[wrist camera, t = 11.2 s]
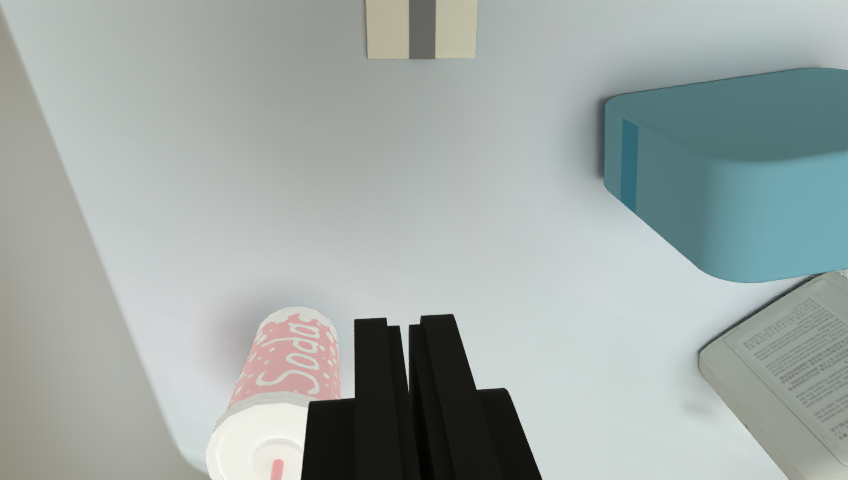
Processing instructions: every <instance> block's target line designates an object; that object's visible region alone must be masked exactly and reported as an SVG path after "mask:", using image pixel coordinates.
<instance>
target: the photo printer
mask: <svg viewBox="0 0 848 480" xmlns="http://www.w3.org/2000/svg"><path fill="white" fill-rule="evenodd" d="M699 369H700V372H701V374H702V375H703V377H704V378H705V379H706V380H707V382H708V383H709V384H710V385H711V386H712V388H713V389H714V390H715V391H716V392H717V394H718V395H719V396H720V397H721V399H722V400H723V401H724V402H725V403H726V405H727V406H728V407H729V408H730V409H731V411H732V412H733V413H734V414H735V415H736V417H737V418H738V419H739V420H740V421H741V423H742V424H743V425H744V426H745V427H746V429H747V430H748V431H749V432H750V433H751V435H752V436H753V437H754V438H755V439H756V441H757V442H758V443H759V444H760V445H761V447H762V448H763V449H764V450H765V451H766V453H767V454H768V455H769V456H770V457H771V459H772V460H773V461H774V462H775V463H776V465H777V466H778V467H779V468H780V469H781V470H782V472H783V473H784V474H785V475H786V476H787V478H788V479H789V480H848V279H847V278H846V277H844V276H842V275H841V274H839V273H837V272H834V271H831V272H827V273H824V274H822V275H820V276H818V277H816V278H814V279H812V280H810V281H809V282H807V283H805V284H803V285H802V286H800V287H799V288H797V289H795V290H794V291H792V292H790V293H789V294H787V295H786V296H784V297H782V298H781V299H779V300H778V301H776V302H774V303H773V304H771V305H769V306H768V307H766V308H765V309H763V310H761V311H760V312H758V313H757V314H755V315H754V316H752V317H750V318H749V319H747V320H746V321H744V322H742V323H741V324H739V325H738V326H736V327H734V328H733V329H731V330H730V331H728V332H727V333H725V334H724V335H722V336H721V337H719V338H718V339H716V340H715V341H713V342H712V343H711V344H709V345H708V346H707V347H706V348H704V349H703V350H702V351H701V353H700V357H699Z"/></svg>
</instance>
